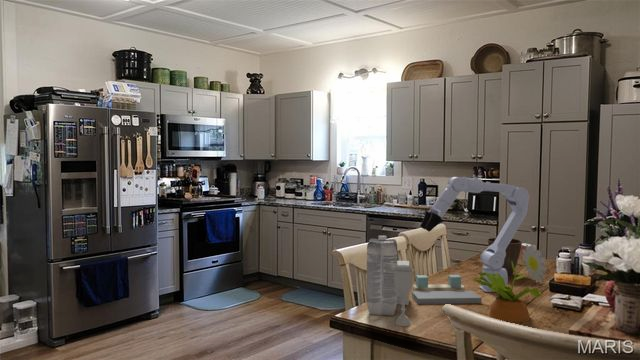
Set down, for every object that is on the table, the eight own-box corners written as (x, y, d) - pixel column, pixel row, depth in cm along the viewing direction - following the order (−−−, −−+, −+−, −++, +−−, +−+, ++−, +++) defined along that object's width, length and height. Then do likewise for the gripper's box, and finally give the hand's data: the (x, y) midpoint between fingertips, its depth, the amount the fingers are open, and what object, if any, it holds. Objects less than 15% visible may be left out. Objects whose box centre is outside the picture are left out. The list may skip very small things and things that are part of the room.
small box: (515, 264, 255) (516, 243, 255) (525, 263, 257) (525, 243, 256) (526, 267, 247) (527, 246, 247) (536, 266, 249) (536, 245, 249)
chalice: (390, 320, 168) (390, 267, 167) (410, 319, 168) (410, 266, 167) (395, 327, 160) (395, 272, 160) (416, 327, 161) (416, 271, 160)
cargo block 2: (458, 284, 204) (458, 274, 204) (461, 286, 200) (461, 277, 200) (448, 284, 204) (448, 274, 204) (451, 287, 200) (451, 277, 200)
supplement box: (409, 305, 184) (409, 265, 183) (384, 304, 186) (384, 264, 185) (409, 298, 193) (409, 260, 192) (386, 297, 195) (386, 259, 194)
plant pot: (528, 275, 230) (528, 241, 230) (508, 279, 222) (508, 244, 221) (500, 269, 243) (500, 236, 242) (480, 273, 234) (481, 239, 234)
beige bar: (460, 291, 205) (460, 284, 205) (464, 294, 200) (464, 287, 200) (412, 291, 204) (412, 284, 204) (415, 295, 199) (415, 287, 199)
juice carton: (396, 317, 171) (397, 238, 170) (366, 315, 173) (366, 238, 171) (397, 309, 180) (397, 234, 178) (368, 307, 181) (368, 234, 180)
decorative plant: (561, 325, 162) (563, 249, 161) (494, 331, 157) (495, 252, 156) (512, 302, 188) (513, 236, 187) (454, 306, 183) (454, 238, 182)
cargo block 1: (425, 284, 204) (425, 275, 204) (428, 287, 200) (428, 277, 200) (415, 285, 204) (415, 275, 203) (418, 287, 200) (418, 277, 199)
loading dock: (472, 295, 197) (472, 290, 197) (481, 303, 187) (481, 297, 187) (411, 296, 196) (412, 291, 196) (417, 303, 186) (417, 298, 186)
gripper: (431, 195, 210) (412, 221, 210) (441, 197, 195) (421, 225, 195) (444, 205, 210) (426, 231, 210) (455, 207, 196) (435, 235, 196)
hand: (424, 229), depth 203 cm, fingers open, 7 cm apart
